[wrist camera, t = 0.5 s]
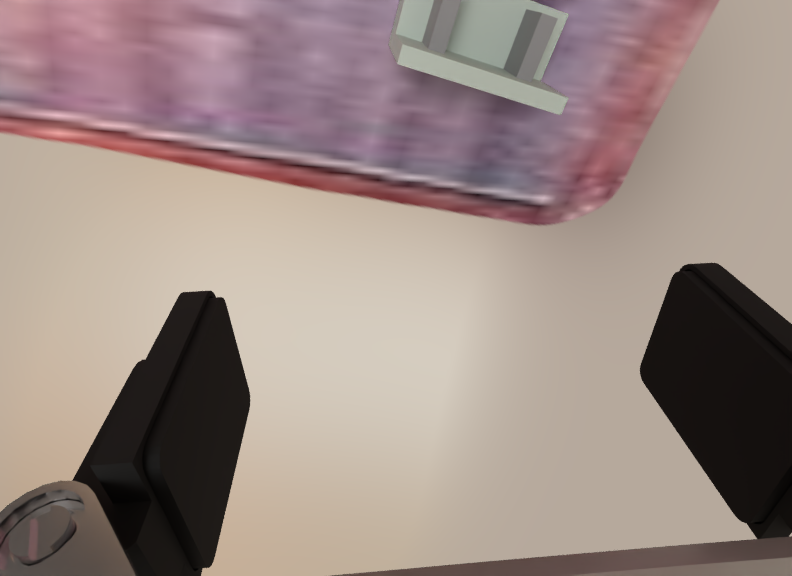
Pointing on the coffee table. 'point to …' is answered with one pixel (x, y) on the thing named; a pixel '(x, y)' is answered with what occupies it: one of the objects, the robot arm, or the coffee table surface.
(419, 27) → the door jamb
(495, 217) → the coffee table surface
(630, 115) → the coffee table surface
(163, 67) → the coffee table surface
